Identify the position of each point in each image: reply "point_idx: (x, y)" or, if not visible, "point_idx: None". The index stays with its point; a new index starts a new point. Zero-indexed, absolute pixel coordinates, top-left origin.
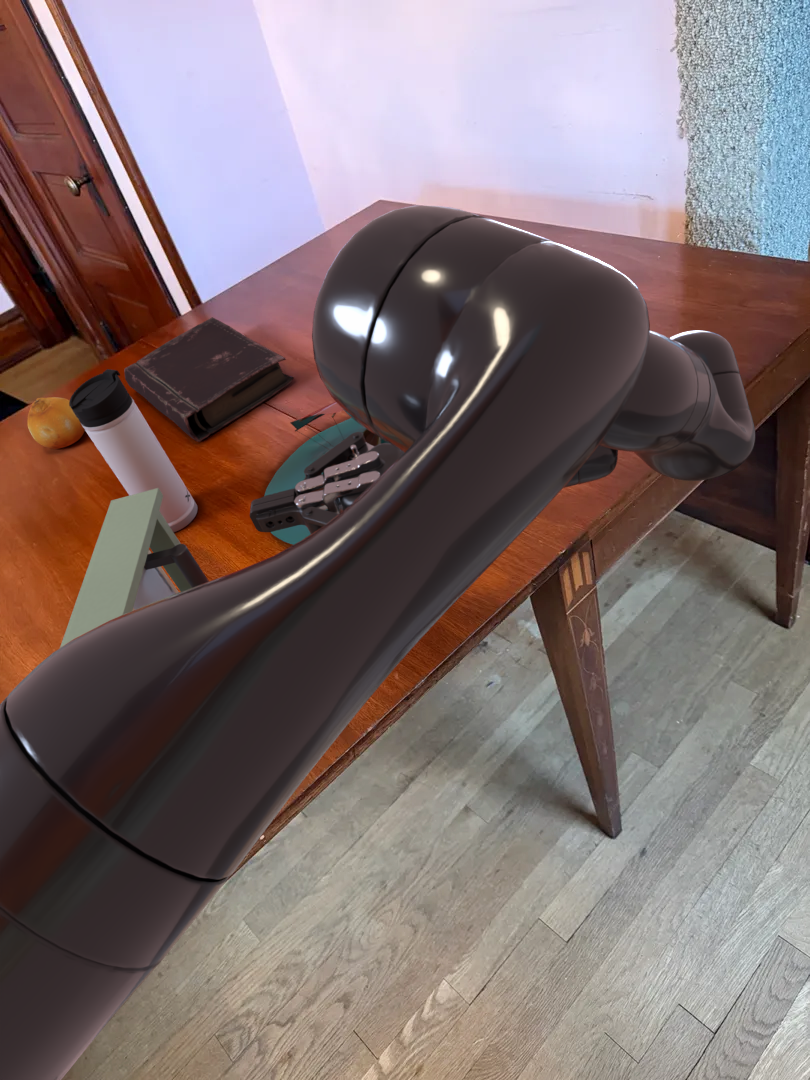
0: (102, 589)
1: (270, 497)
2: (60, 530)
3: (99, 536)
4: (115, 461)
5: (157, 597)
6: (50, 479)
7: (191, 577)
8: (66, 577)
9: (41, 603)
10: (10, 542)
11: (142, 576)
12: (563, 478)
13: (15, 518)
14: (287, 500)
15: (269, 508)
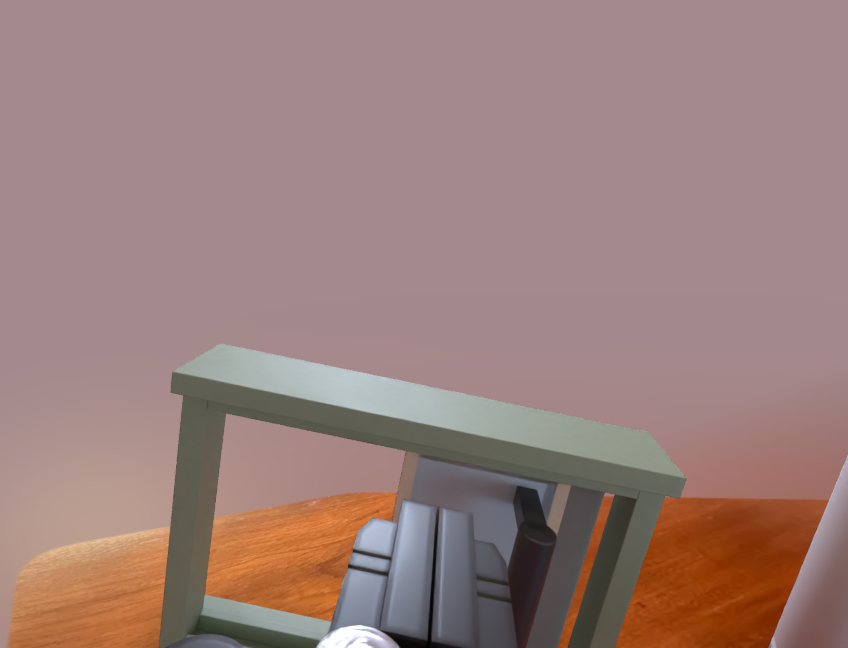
0: (408, 397)
1: (461, 557)
2: (741, 540)
3: (550, 412)
4: (828, 513)
5: None
6: None
7: None
8: (653, 543)
9: None
10: (709, 499)
11: (493, 495)
12: None
13: (751, 503)
14: (399, 605)
15: (394, 547)
